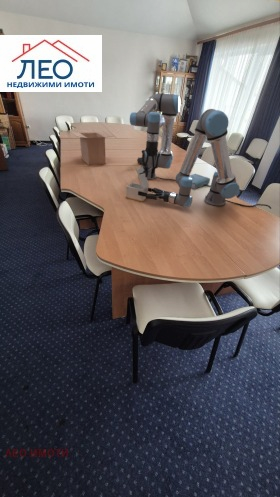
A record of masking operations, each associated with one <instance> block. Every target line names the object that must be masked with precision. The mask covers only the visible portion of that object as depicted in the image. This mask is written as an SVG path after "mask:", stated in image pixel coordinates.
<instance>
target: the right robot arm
mask: <svg viewBox="0 0 280 497" xmlns="http://www.w3.org/2000/svg"><path fill="white" fill-rule="evenodd" d="M229 124H230V122H229V117H228V115H227V114H226V113H225V112H224V111H222V110H219V109H215V108H209V109H206V110H205V111H203V112H202V114H200V117H199V118H198V121H197V123H196V127H195V129H194V135H193V138H192V140H191V143H190V145H189V148H188V150H187V152H186V155H185V156H184V157H185V158H184V159H183V162H182V165H181V167H180V170H179V172H178V173H177V174H176V175H175V180H176V181H175V182H176V184H177V185H178V187H179V190H178V193H177V192H171V191H168V190H163V189H160V188H157V187H153V188H152V187H148V194H147V193H145V192H140V191H138V195H140V196H144V197H146V199H145V200H153V201H160V200H162V201H163V203H164V202H165V203H169V204H171V205H177V206H180V207H184V208H190V207H191V205H192V202H193V197H192V196H191V191H192V188H191V187H192V181H193V180H192V178H190V177H189V176H190V175H191V173H192V171H193V168H194V166H195V164H196V162H197V159H198V157H199V155H200V153H201V151H202V148H203V145H204V143H205V141H206V140H207V141H208V142H209V143H210V146H211V151H212V156H213V160H214V164H215V169H216V171H214V173H213V175H212V179H211V184H210V186H211V187H210V186H209V191H208V192H207V194H204V195H205V196H204V202H205V203H206V204H208V205H210V206H213V207H214V206H215V207H223V206H225V204H226V202H227V203H230V204H234V205H237V206H240V207H246V208H253V207H256V206H261V207H262V206H263V207H268V208H269V209H270V210H271V209H272V206H270V205H268V204H263V203H256V204H252V205H245V204H241V203H238V202H236V201H235V202H234V201H232V200H230V199H232V198H235V197H236V196H237V195H238V194H239V192H240V191H239V190H241V188H240V185H239V183H238V182H237V178H236V174H235V173H233V171H232V165H231V159H230V155H229V154H230V153H229V147H228V142H227V138H226V137H227V135H228V132H229V131H228V127H229Z"/></svg>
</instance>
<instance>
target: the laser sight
mask: <svg viewBox="0 0 280 497" xmlns="http://www.w3.org/2000/svg"><path fill="white" fill-rule="evenodd" d="M136 162H137V164H139V165H142V156H141V157H137V159H136Z"/></svg>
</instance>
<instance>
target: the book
mask: <svg viewBox="0 0 280 497" xmlns="http://www.w3.org/2000/svg"><path fill="white" fill-rule="evenodd" d="M189 177H190V178H192V180H193V181H192V187H191V189H192V190H195V189H198V188H200V187H203V186H204V185H209V184H210V182H211V178H209V177H207V176H204V175H201V174H197V173H193V174H190V175H189Z"/></svg>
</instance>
